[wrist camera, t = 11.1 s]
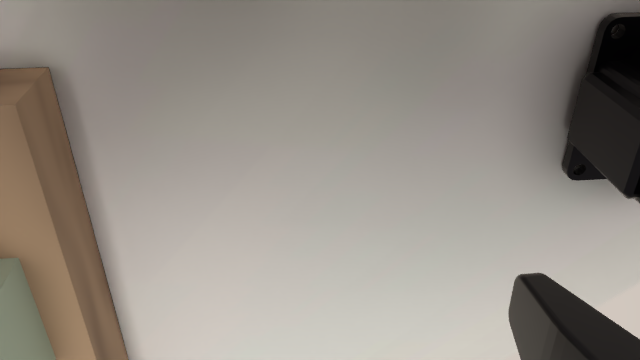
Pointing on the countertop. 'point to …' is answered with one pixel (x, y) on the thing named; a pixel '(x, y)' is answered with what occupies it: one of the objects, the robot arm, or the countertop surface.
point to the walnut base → (51, 221)
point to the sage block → (20, 317)
